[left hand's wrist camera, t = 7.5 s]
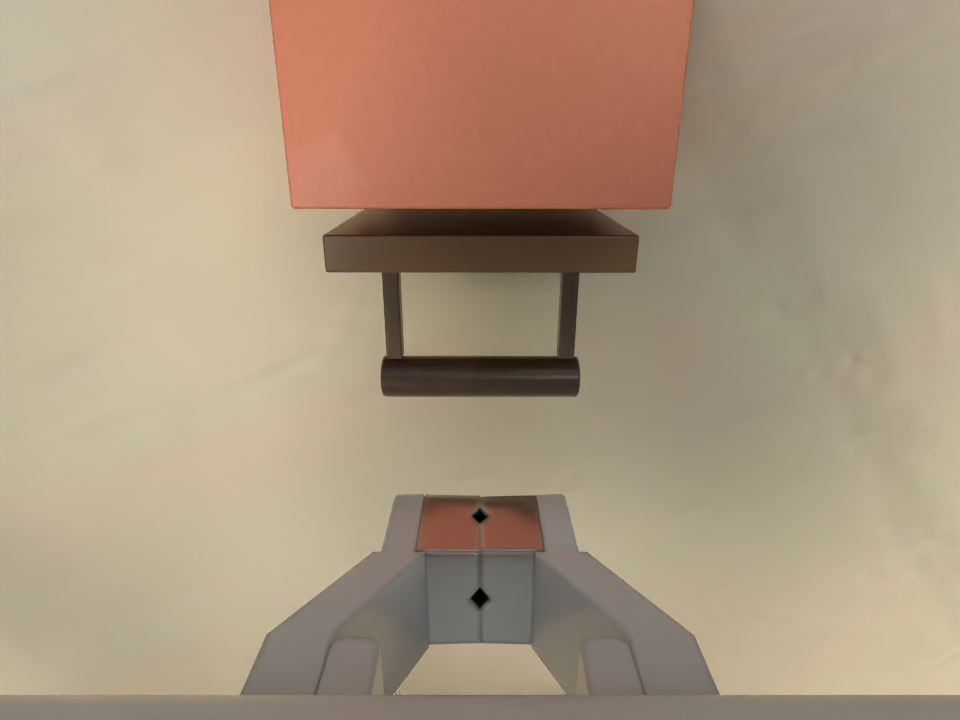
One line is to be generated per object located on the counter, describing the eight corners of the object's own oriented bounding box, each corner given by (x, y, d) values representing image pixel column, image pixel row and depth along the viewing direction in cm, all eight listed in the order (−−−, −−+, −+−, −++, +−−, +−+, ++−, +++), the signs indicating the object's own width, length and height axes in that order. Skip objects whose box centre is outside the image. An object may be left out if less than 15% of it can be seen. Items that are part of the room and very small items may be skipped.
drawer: (582, 345, 29) (621, 423, 21) (377, 345, 29) (339, 422, 21) (628, -338, 20) (724, -643, 12) (333, -339, 20) (240, -645, 12)
